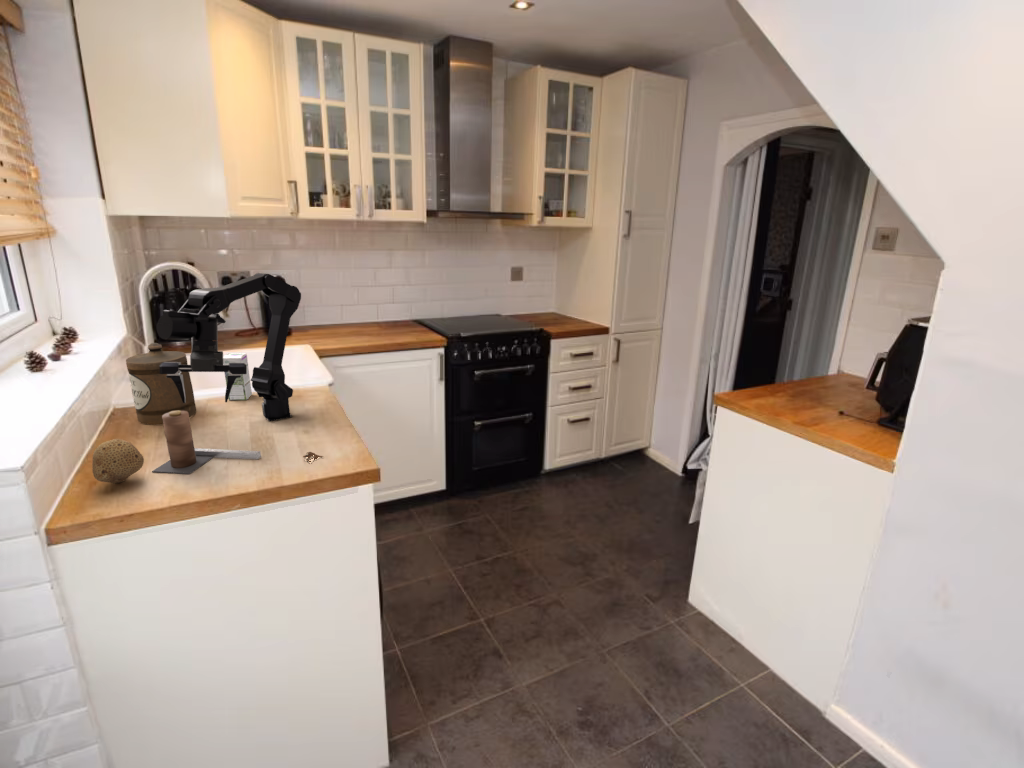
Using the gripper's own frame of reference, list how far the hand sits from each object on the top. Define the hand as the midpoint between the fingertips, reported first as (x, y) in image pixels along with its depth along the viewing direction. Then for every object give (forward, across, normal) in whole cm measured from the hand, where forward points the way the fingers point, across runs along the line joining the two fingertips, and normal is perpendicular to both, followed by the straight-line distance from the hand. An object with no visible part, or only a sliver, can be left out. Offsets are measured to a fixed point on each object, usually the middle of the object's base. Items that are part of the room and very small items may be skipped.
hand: (205, 402), depth 135 cm
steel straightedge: (+13, +4, -6) cm, 15 cm away
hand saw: (+12, +20, -8) cm, 25 cm away
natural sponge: (+16, -15, -12) cm, 25 cm away
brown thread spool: (+14, -4, -7) cm, 16 cm away
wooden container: (+7, -12, +31) cm, 34 cm away
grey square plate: (+14, -4, -8) cm, 17 cm away
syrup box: (+3, +7, +41) cm, 42 cm away
